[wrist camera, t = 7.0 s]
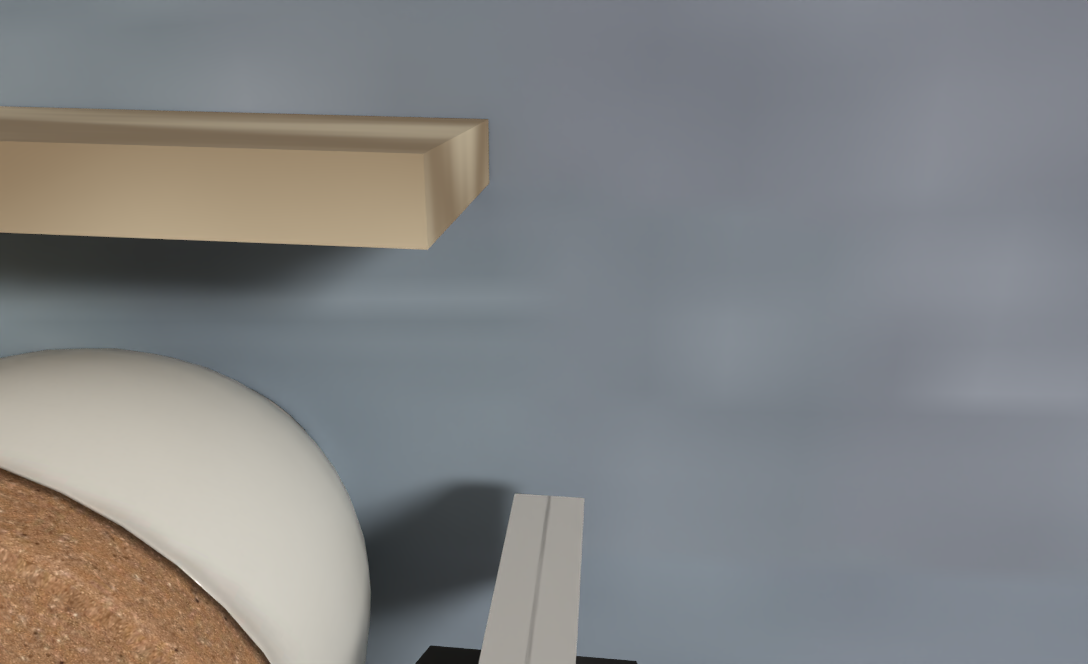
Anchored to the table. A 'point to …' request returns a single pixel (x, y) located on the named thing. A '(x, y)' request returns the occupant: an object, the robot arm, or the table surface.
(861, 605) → the table surface
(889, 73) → the table surface
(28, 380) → the lidded jar
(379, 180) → the bay
